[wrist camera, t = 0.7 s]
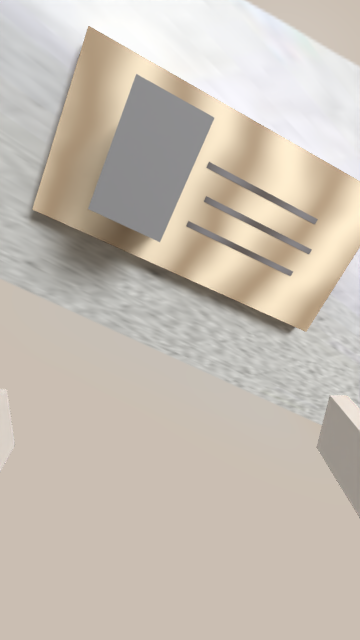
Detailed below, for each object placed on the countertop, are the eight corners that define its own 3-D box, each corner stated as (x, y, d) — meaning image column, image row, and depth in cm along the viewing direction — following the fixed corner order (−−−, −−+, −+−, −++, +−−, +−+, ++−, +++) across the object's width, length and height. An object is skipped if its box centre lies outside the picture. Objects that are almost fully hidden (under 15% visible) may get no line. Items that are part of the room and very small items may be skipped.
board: (40, 208, 31) (32, 209, 29) (93, 37, 26) (88, 25, 25) (298, 324, 36) (306, 331, 34) (376, 198, 32) (390, 198, 30)
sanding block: (160, 229, 30) (159, 242, 22) (106, 204, 29) (87, 208, 22) (200, 137, 28) (214, 117, 20) (143, 106, 27) (136, 73, 19)
